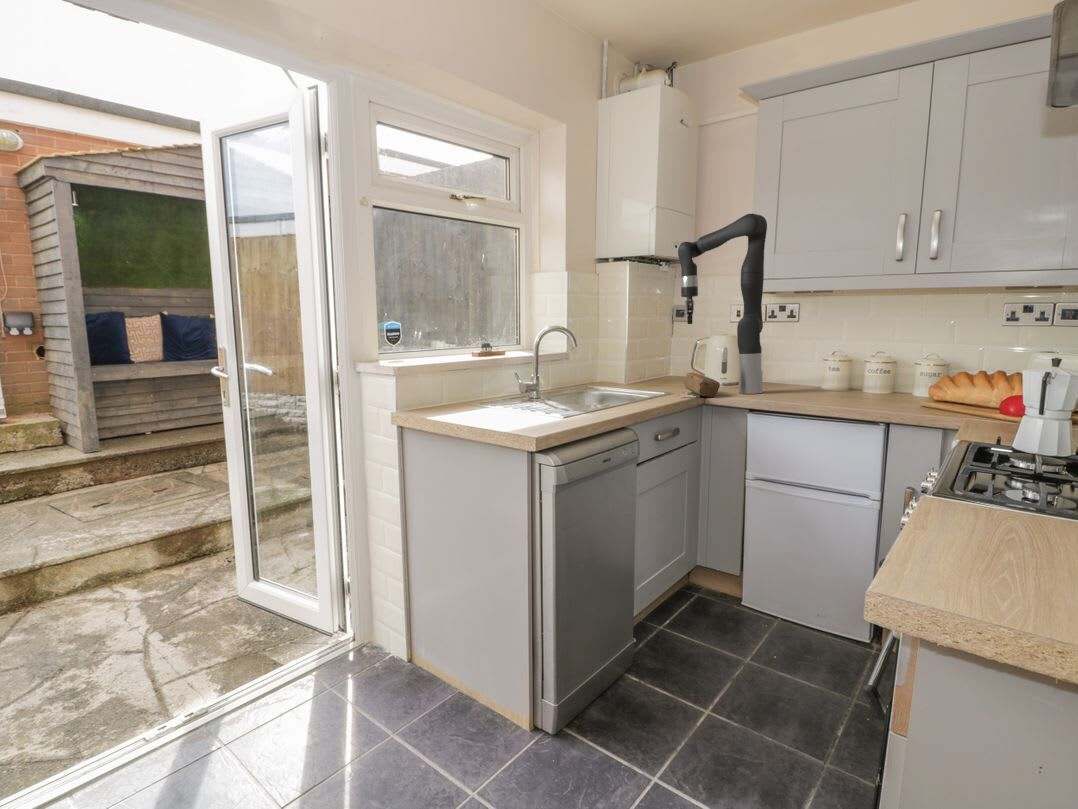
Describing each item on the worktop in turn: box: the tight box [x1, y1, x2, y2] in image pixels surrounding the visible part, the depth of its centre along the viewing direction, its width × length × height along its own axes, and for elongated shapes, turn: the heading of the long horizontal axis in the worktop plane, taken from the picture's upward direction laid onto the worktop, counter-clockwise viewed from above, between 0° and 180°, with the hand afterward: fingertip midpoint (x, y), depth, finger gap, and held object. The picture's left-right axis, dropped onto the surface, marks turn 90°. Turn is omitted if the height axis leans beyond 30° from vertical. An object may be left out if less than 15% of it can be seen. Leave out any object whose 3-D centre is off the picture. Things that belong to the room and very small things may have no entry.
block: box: [683, 372, 721, 398], centre depth 253 cm, size 11×8×20 cm
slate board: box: [686, 391, 701, 398], centre depth 253 cm, size 8×12×1 cm, turn 169°
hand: (689, 324), depth 272 cm, fingers closed
